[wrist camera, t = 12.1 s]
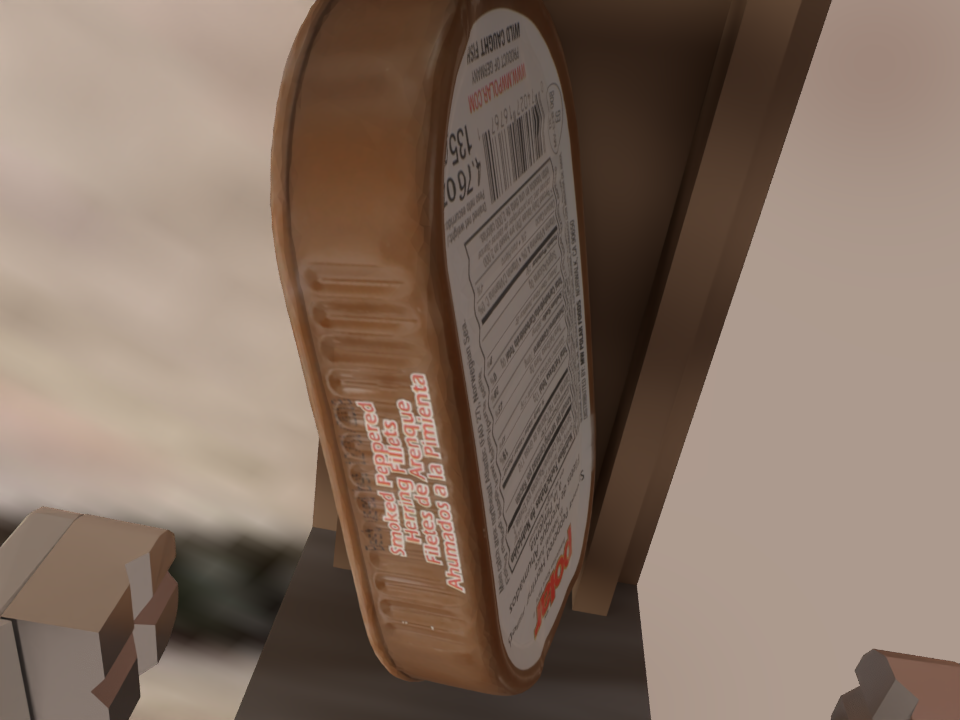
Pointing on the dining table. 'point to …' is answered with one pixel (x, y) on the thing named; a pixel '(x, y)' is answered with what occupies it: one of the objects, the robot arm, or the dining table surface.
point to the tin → (443, 321)
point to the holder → (599, 347)
